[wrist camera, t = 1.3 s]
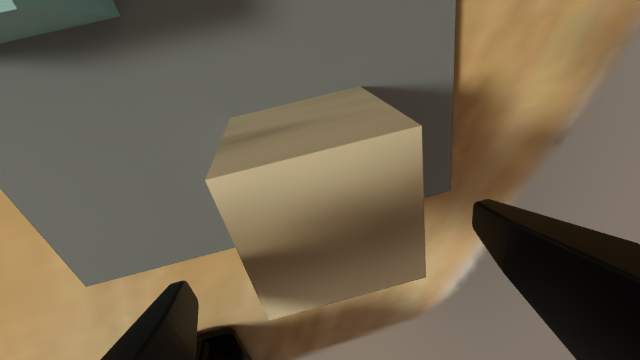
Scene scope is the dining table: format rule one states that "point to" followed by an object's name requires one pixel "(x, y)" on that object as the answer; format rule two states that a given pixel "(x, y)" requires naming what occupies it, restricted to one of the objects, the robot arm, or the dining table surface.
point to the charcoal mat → (194, 111)
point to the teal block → (50, 16)
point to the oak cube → (322, 199)
